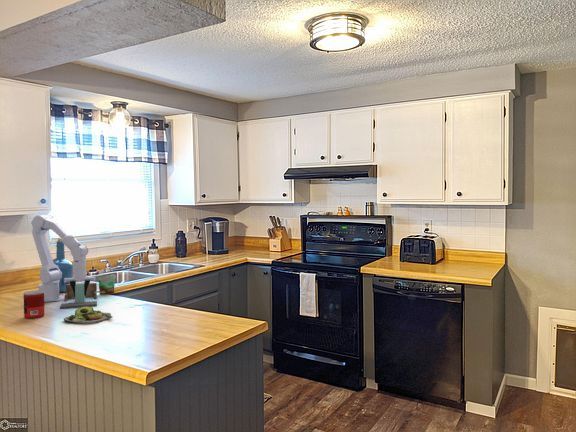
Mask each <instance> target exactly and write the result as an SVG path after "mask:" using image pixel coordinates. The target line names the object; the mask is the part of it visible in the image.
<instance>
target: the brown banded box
mask: <svg viewBox="0 0 576 432" xmlns="http://www.w3.org/2000/svg"><path fill="white" fill-rule="evenodd" d="M97 286H98V284H97V282H90V283H89V285H88V288H87V292H86V296H85V298H91V296H92V297H94V300H97V297H98V295H97V293H98V287H97ZM64 293H65V294H64V302H67V301H68V299H73V298H72V297H75V296H74V292H73V289H72V287H71V285H70V284H68V285H66V292H64Z"/></svg>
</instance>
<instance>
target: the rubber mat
mask: <svg viewBox="0 0 576 432" xmlns="http://www.w3.org/2000/svg"><path fill="white" fill-rule="evenodd" d="M97 305H98V301H97V300H91V301H84V302H65V303H64V302H61V304H60V306H59V310H62V309H76V308H77V309H78V308H80V307H84V306H90V307H92V308H93V307H97Z"/></svg>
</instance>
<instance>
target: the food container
mask: <svg viewBox="0 0 576 432" xmlns="http://www.w3.org/2000/svg"><path fill="white" fill-rule="evenodd" d="M116 279H117V276H116V274H115V273H110V274H108V275H104V276H98V277H97V281H98V289H99V290H98V291H99V292H98V293H99V295H111V294H113V293H114V294H115V282H116V281H115V280H116Z"/></svg>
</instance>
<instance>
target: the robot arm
mask: <svg viewBox="0 0 576 432" xmlns="http://www.w3.org/2000/svg"><path fill="white" fill-rule="evenodd" d="M31 227H32V230H31V235H32V238H33V241H34V243H35V247H36V251H37V254H38V257H39V261H40V263H41V268H40V269H39V279H40V281H41V283H39V284H38V290H42V291H44V303H45V302H46V303H47V302H57V301H58V302H59V301H60V300H61V296H60V293H59V282H60V279H61V278H62V272H61V271H60V270H59V268H58V266H57V265H56V264H54V262H53V259H54V258H53V257H52V253H51V250H50V249H51V248H50V246H49V242H48V240H47V236H46V234H47V233H48V231H49V230H51V231H53V232H54V233H55V234H56V235H57V236H58V237H59V238H60V239H63V241H62V242H63V243H64V246H65V247H67V249H68V250H69V251H70V254H71V255H70V256H72V259H73V271H74V277H73V278H64V282H70V285H71V287H72V289H73V292H74V296H75V285H76V283H80V282H84V285H85V291H84V296H86V292H87V288H88V285H89V283H91V282H95V281H96V276H87V255H88V254H89V248H88V247H87V245H86V244H82V243H81V242H80V241H78V240H77V238H76V236H75V235H73V234H68V233H67V232H66V230H65V229H64V228H63V227H62V226H61V224H60V223H59V222H58V220H57V219H56V218H55V217H54V216H53V215H51V214H49V215H35V216H34V217H33V219H32V220H31ZM49 270H50V271H49Z"/></svg>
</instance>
